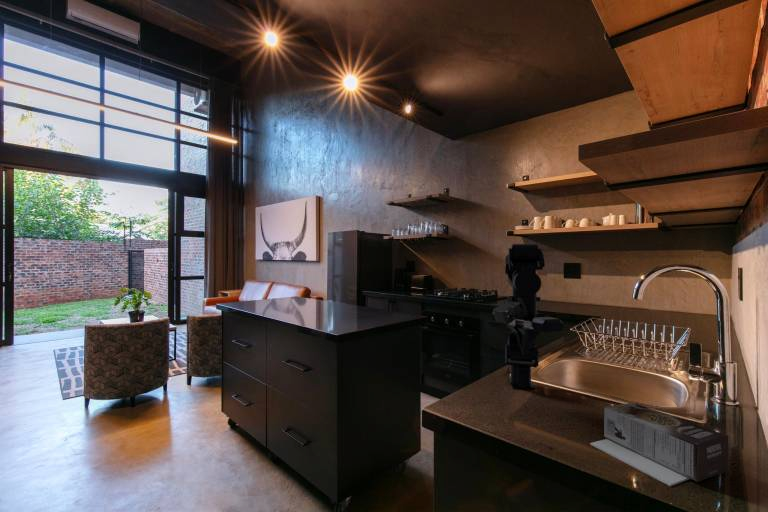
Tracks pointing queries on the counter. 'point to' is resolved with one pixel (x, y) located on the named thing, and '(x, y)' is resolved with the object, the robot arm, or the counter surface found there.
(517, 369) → the robot arm
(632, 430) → the coffee box
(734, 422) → the counter surface
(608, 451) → the grey mat
